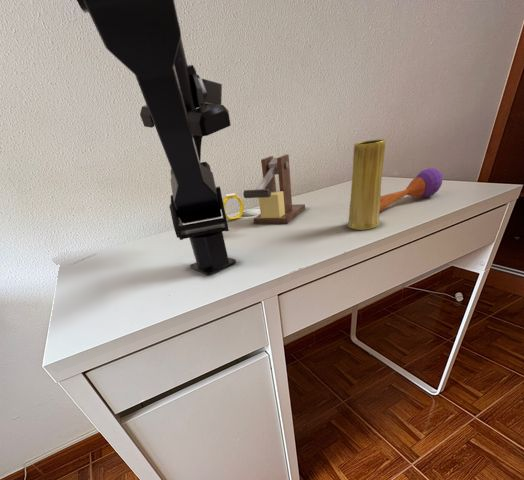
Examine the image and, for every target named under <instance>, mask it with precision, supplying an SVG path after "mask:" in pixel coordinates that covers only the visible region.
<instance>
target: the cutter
mask: <svg viewBox="0 0 524 480" xmlns="http://www.w3.org/2000/svg"><path fill="white" fill-rule="evenodd" d="M272 158H274V155H270V156H269V155H268V156H266V157H264V158H261V159H260V163H261V171H262V179H263V178H264V177H265V175H266V174H267V172H268V171H269V166H268V164H269V162H270V161H271V160H272ZM276 158H277V164H278V174H277V175H278V186H279V191H283V195H284V207H285V214H284V215H283V216H282V217H280V218H261V213H260V214H258V215H257V216H255V217H253V224H254V225H255V224H256V225H257V224H259V225H261V224H262V225H270V224H271V225H287V224H289V223H291V221H293V220H294V219H295V218H296V217H298V216H299V215H300V214H301V213H302V212H304V211H305V210H306V204H304V203H303V204H301V203H300V204H299V203H298V204H293V201H292V200H293V199H292V184H291V168H290V155H289V154H284V155H281V156H279V157H276ZM265 189H270V190H271V192H277V183H276V175H273V177H272V178H271V180H270V181H269V183H268V184H267V186H266V187H265Z"/></svg>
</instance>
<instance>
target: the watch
mask: <svg viewBox="0 0 524 480" xmlns="http://www.w3.org/2000/svg"><path fill="white" fill-rule="evenodd" d="M229 199H236V200H237V201H238V204H239V207H240V208H239V212H238V214H237V215H236V216H232V217H229V216H228V214H227V212H226V211H225V214H226V219H227V220H228V221H233V220H237V219H240V218H241V217H242V216H243V214H244V209H245V207H244V203H243V200H242V199H241V197H239V196H238V195H237V193H227V194H225V197H224V198H223V204H224V209H225V210H226V204H227V201H228V200H229Z"/></svg>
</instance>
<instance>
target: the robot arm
mask: <svg viewBox="0 0 524 480" xmlns="http://www.w3.org/2000/svg"><path fill="white" fill-rule="evenodd" d="M76 2H77V4H78V5H79V7H80V9H81V11H82V12H83V13H84V14H86V13H87V14H89V16H90V18H91V21H93V22H92V23H93V24H94V26H95V28H96V31H97V33H98V35H99V37H100V40H101V41H102V43H103V45H104V47H105V49H106V50H107V51H108V52H109V53H110V54H111V55H113V57H114V58H116V60H118V61H119V62H120V63H121V64H122V65H123V66H124V67H126V69H128V70H129V71H130V72H131V73H132V74H133V75H134V76H135V80H136V81H137V83H138V86H139V88H140V93H141V94H142V97H143V99H144V102H145V105H142V106H141V109H140V113H139V115H140V118H141V121H142V124H143V127H144V128H145V127H146V128H150V129H152V128H155V130H156V133H157V135H158V138H159V141H160V144H161V146H162V148H163V151H164V154H165V156H166V158H167V161H168V163H169V166H170V171H169V172H170V181H169V182H170V185H171V192H172V194H171V195H170V204H169V205H168V207H169V210H170V216H171V221H172V225H173V229H174V232H175V235H176V238H178V239H179V240H180V241H183V240H186V239H189V242H190V245H191V249H192V252H193V256H194V260H195V262H193V264H189V267H190V269H192V270H193V271H195V272H199V273H201V274H204V275H205V276H211V275H213V274H215V273H217V272H220V271H222V270H224V269H226V268H228V267H230V266H233V265H235V264H236V263H237V260H236V259H234V258H231V257H229V256H228V251H227V248H226V243H225V238H224V237H225V236H224V234H223V233H224V232H230V229H229V225H228V219H227V218H226V214H227V213H226V214H225V212H226V208H225V209H224V204H223V200H224V198H223V195H222V191H221V186H216V181H215V178H214V173H213V172H212V169H211V166H210V164H209V163H208V162H207V161H202V162H201V159H202V158H201V156H202V142H203V141H202V140H203V137H208V136H211V135H213V134H215V133H216V132H217V133H218V132H219V131H222V130H224V129H226V128H228V127H231V118H230V117H231V116H230V112H229V109H227V107H225V105H223V104H222V97H223V96H222V92H223V84H222V83H220V82H217V81H212V80H209V79H207V78H201V77H200V75H199V74H197V70H196V68H195V67H194V64H188V62H187V58H186V52H185V48H184V44H183V39H182V32H181V26H180V22H179V17H178V11H177V7H176V3H175V2H176V1H175V0H76Z"/></svg>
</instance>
